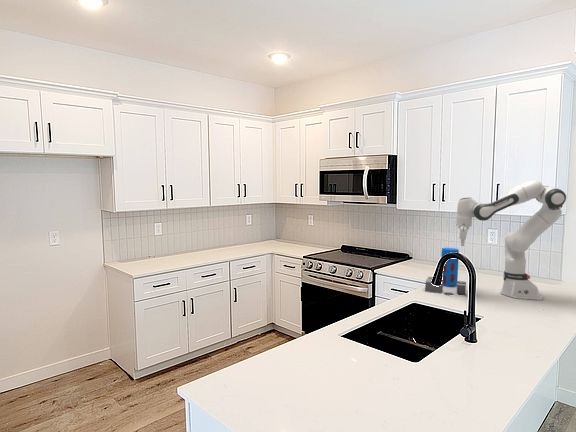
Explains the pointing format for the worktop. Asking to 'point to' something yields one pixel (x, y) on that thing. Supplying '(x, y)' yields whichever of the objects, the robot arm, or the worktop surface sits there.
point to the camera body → (430, 287)
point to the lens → (461, 287)
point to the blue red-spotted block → (450, 269)
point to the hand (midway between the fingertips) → (462, 245)
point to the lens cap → (448, 293)
